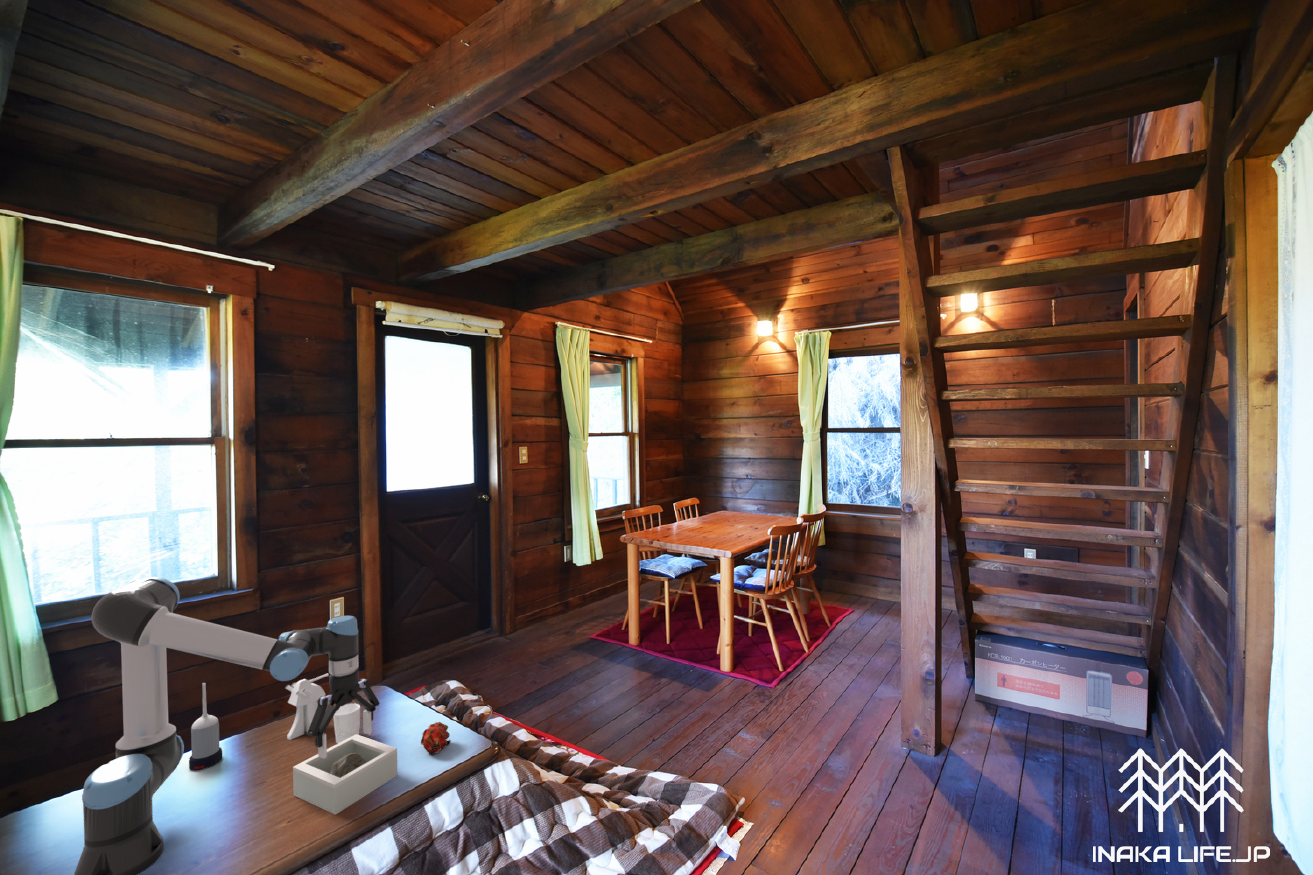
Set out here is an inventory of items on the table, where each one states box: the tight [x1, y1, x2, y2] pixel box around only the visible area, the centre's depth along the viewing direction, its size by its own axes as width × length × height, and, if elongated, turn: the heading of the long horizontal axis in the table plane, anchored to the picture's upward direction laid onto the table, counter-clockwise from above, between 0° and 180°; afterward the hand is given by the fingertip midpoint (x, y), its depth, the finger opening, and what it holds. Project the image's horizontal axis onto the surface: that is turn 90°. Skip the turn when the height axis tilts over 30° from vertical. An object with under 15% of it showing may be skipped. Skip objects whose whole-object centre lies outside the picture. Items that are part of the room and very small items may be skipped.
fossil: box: [330, 753, 366, 778], centre depth 159 cm, size 11×9×10 cm
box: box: [292, 734, 399, 815], centre depth 160 cm, size 19×19×8 cm
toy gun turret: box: [284, 672, 330, 741], centre depth 192 cm, size 12×13×18 cm
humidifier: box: [188, 682, 223, 772], centre depth 173 cm, size 8×8×25 cm
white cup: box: [333, 703, 361, 744], centre depth 185 cm, size 8×8×10 cm
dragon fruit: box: [420, 721, 452, 756], centre depth 177 cm, size 8×8×12 cm
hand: (345, 744), depth 160 cm, fingers open, 13 cm apart
